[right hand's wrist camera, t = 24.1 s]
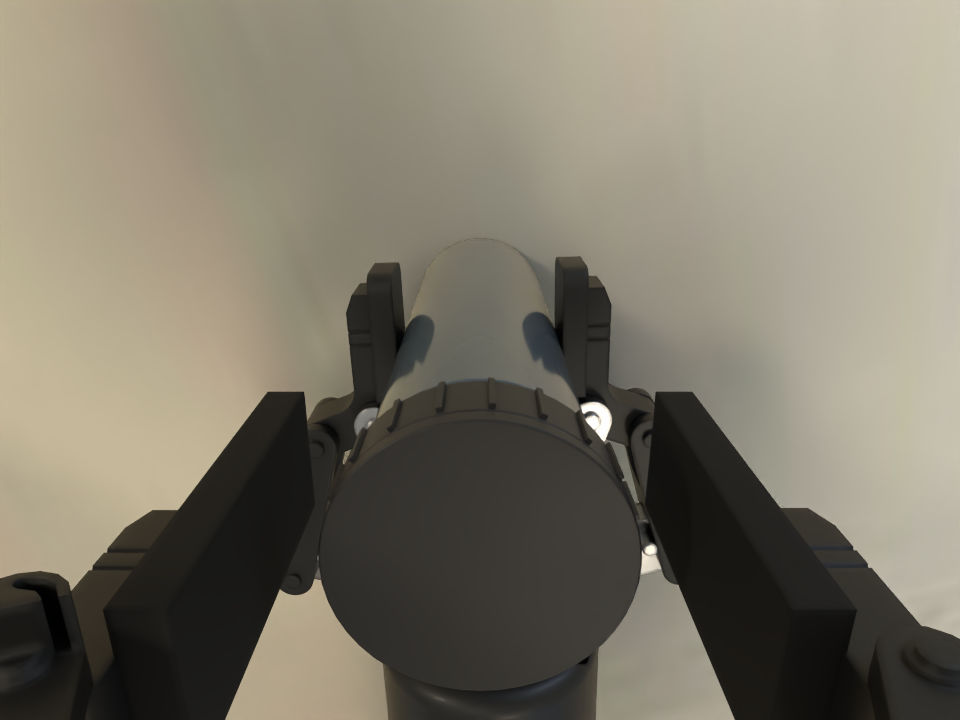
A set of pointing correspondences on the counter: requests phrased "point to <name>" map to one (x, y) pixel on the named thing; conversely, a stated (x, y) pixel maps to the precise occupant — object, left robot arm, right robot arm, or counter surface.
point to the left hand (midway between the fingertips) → (478, 267)
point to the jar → (480, 327)
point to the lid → (480, 537)
